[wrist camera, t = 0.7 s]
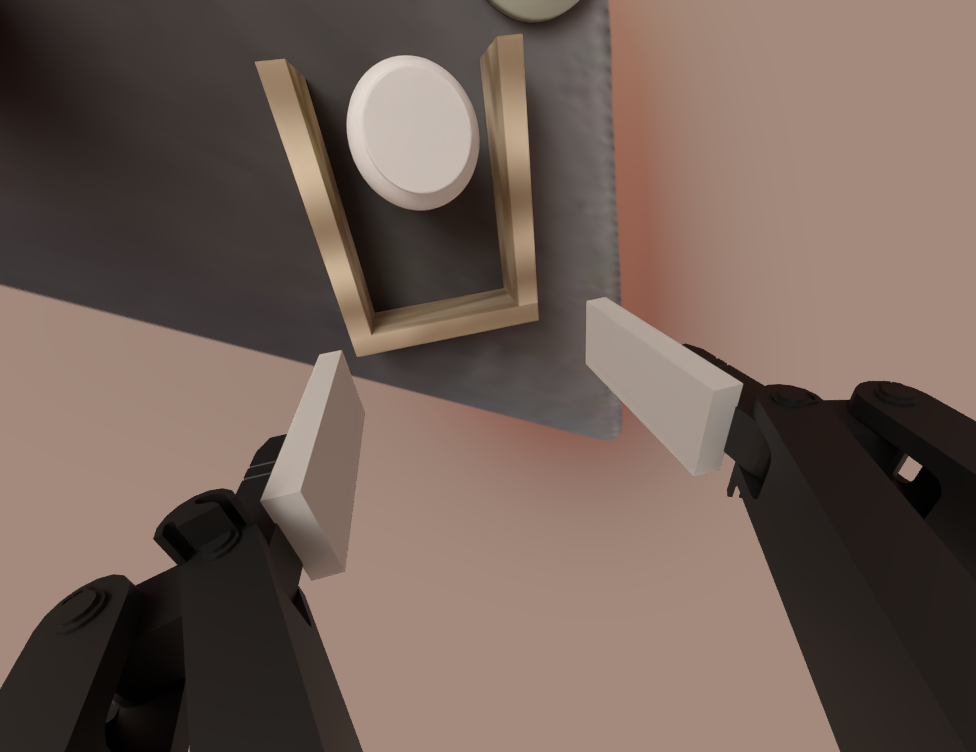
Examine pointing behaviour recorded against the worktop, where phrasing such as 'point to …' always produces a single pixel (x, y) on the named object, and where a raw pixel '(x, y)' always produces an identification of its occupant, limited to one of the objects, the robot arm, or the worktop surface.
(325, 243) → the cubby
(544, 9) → the sage green dome
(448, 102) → the supplement bottle
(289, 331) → the worktop surface
